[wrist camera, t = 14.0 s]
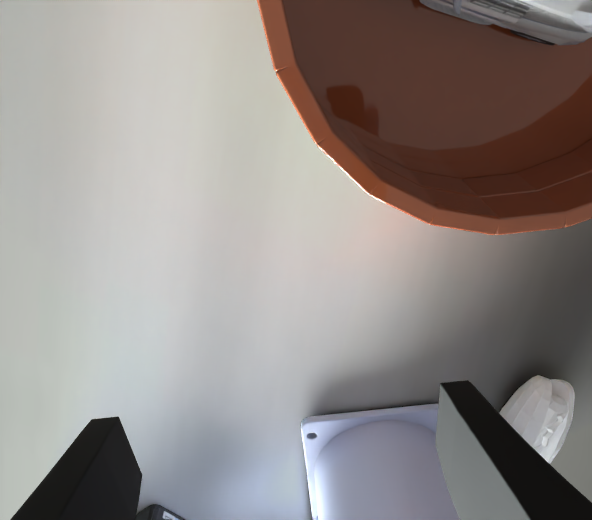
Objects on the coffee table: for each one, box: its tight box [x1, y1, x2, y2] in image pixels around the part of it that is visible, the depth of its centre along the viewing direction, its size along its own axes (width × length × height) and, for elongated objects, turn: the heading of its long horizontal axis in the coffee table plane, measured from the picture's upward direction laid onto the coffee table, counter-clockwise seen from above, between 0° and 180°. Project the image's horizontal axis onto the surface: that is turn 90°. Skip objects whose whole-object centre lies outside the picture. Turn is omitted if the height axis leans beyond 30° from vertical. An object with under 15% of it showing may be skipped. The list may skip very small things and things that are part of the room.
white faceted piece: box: [499, 375, 575, 464], centre depth 24 cm, size 3×8×3 cm, turn 168°
